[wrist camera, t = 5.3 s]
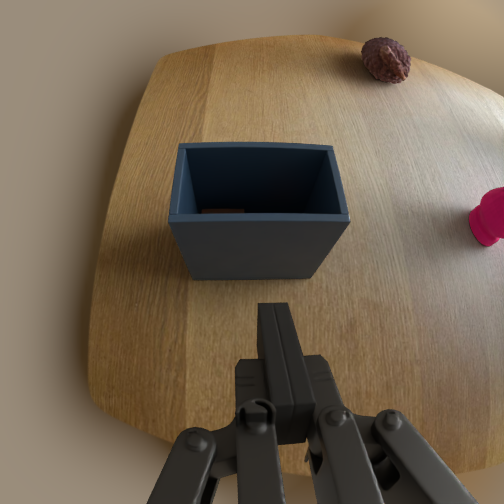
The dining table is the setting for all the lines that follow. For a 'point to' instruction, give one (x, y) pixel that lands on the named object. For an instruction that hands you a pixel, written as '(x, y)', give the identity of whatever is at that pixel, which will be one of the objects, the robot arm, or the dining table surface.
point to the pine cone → (386, 59)
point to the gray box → (256, 209)
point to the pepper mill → (489, 217)
